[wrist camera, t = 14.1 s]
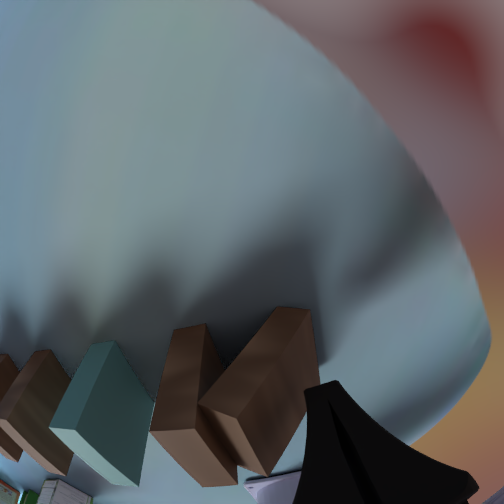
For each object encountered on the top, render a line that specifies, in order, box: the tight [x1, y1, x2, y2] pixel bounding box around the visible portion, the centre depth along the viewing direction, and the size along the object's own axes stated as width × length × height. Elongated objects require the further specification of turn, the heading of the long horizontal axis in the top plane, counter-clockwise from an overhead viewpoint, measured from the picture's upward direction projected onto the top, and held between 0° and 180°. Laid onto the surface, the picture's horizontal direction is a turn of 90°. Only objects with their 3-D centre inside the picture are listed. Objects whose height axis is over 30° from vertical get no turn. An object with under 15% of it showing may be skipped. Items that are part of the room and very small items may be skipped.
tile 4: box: [0, 354, 23, 462], centre depth 11 cm, size 2×5×6 cm, turn 13°
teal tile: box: [49, 340, 154, 487], centre depth 11 cm, size 2×5×6 cm, turn 14°
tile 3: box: [0, 350, 74, 476], centre depth 11 cm, size 2×5×6 cm, turn 13°
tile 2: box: [149, 323, 238, 487], centre depth 11 cm, size 2×5×6 cm, turn 13°
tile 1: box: [197, 306, 320, 477], centre depth 11 cm, size 2×5×6 cm
